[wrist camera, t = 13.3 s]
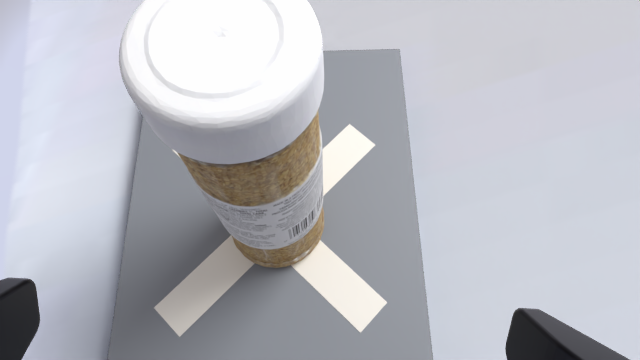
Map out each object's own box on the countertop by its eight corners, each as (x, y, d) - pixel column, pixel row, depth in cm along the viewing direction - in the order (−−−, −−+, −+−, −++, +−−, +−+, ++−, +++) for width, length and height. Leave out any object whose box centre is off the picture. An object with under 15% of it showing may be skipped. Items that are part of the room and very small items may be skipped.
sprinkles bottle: (284, 163, 24) (238, -72, 11) (344, 228, 22) (367, 40, 10) (211, 220, 23) (72, 27, 10) (270, 292, 21) (191, 169, 9)
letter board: (438, 453, 20) (443, 457, 19) (102, 460, 20) (91, 464, 19) (397, 60, 27) (399, 48, 26) (157, 66, 27) (151, 54, 27)
